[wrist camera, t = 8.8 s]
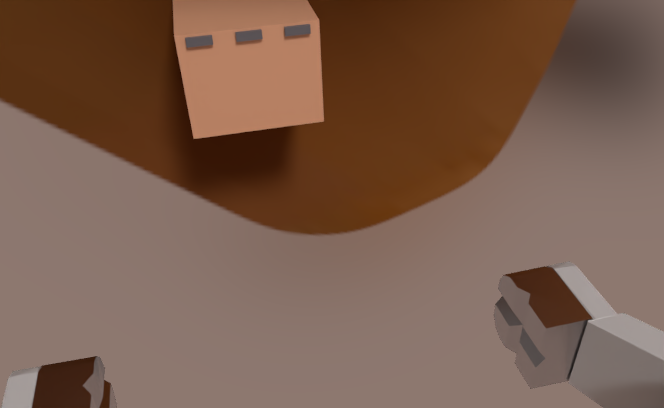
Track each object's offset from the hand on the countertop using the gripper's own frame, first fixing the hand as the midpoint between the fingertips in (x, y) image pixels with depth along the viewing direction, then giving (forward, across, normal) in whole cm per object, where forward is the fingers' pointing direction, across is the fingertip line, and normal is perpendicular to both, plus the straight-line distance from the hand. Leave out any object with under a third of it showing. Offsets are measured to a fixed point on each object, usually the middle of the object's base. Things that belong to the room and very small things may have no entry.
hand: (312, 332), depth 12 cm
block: (+17, -1, 0) cm, 17 cm away
